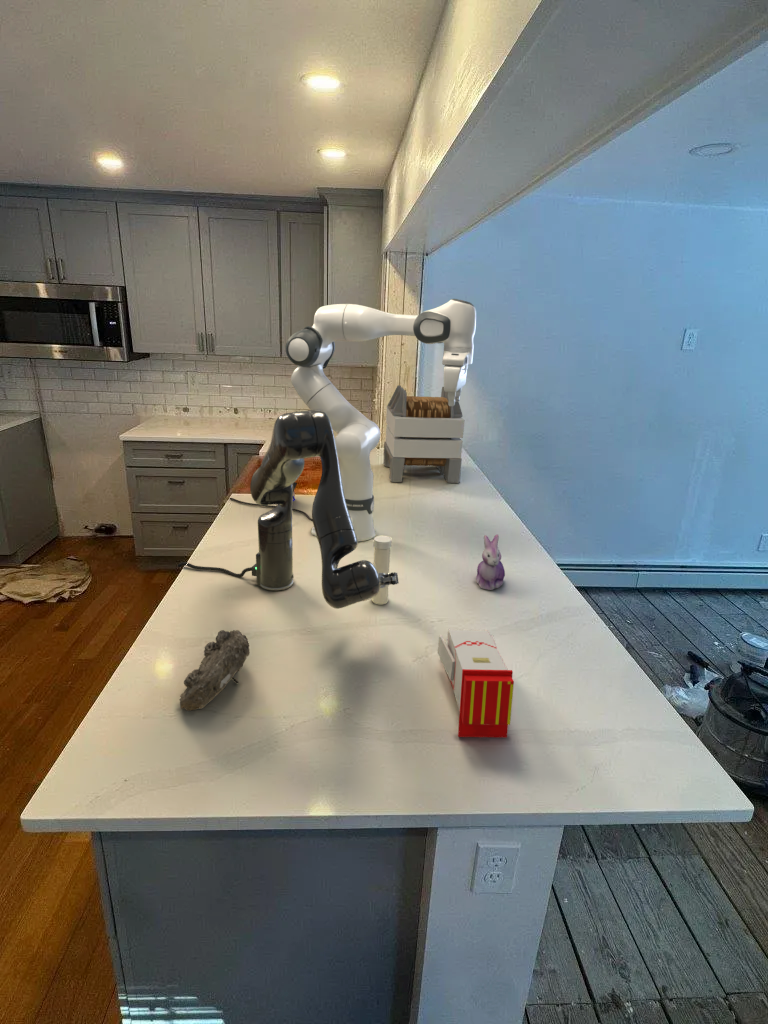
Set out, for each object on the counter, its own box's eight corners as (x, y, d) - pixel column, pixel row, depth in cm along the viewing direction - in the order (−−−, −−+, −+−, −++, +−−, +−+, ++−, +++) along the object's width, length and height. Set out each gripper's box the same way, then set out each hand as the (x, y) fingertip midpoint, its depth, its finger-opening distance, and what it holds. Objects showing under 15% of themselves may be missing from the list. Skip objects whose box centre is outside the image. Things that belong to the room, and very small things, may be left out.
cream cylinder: (390, 600, 154) (394, 540, 148) (381, 606, 151) (383, 544, 145) (379, 595, 156) (381, 536, 150) (369, 601, 153) (371, 540, 147)
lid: (394, 545, 149) (395, 538, 148) (383, 550, 145) (384, 543, 144) (381, 540, 151) (381, 534, 151) (370, 545, 148) (370, 538, 147)
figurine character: (293, 513, 218) (297, 497, 231) (292, 495, 215) (297, 480, 228) (275, 513, 218) (281, 496, 231) (274, 495, 214) (280, 479, 228)
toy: (488, 613, 130) (523, 677, 101) (484, 667, 133) (517, 744, 104) (435, 612, 130) (455, 676, 101) (432, 666, 133) (451, 743, 103)
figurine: (487, 593, 160) (493, 544, 155) (466, 578, 168) (471, 531, 163) (513, 587, 164) (520, 540, 159) (491, 573, 172) (497, 527, 167)
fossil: (201, 632, 127) (249, 601, 122) (231, 661, 130) (278, 632, 125) (157, 704, 108) (212, 671, 103) (193, 736, 111) (248, 705, 106)
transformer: (382, 463, 289) (386, 382, 275) (445, 464, 293) (451, 384, 279) (390, 482, 257) (394, 392, 243) (460, 483, 261) (468, 394, 247)
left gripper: (392, 560, 119) (396, 562, 135) (326, 569, 119) (338, 570, 136) (397, 596, 118) (401, 593, 134) (330, 605, 119) (341, 601, 135)
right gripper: (453, 354, 180) (449, 398, 185) (441, 358, 161) (437, 407, 166) (473, 355, 178) (468, 399, 183) (463, 360, 160) (459, 409, 164)
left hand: (369, 581), depth 135 cm, fingers open, 8 cm apart
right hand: (454, 403), depth 174 cm, fingers open, 8 cm apart
